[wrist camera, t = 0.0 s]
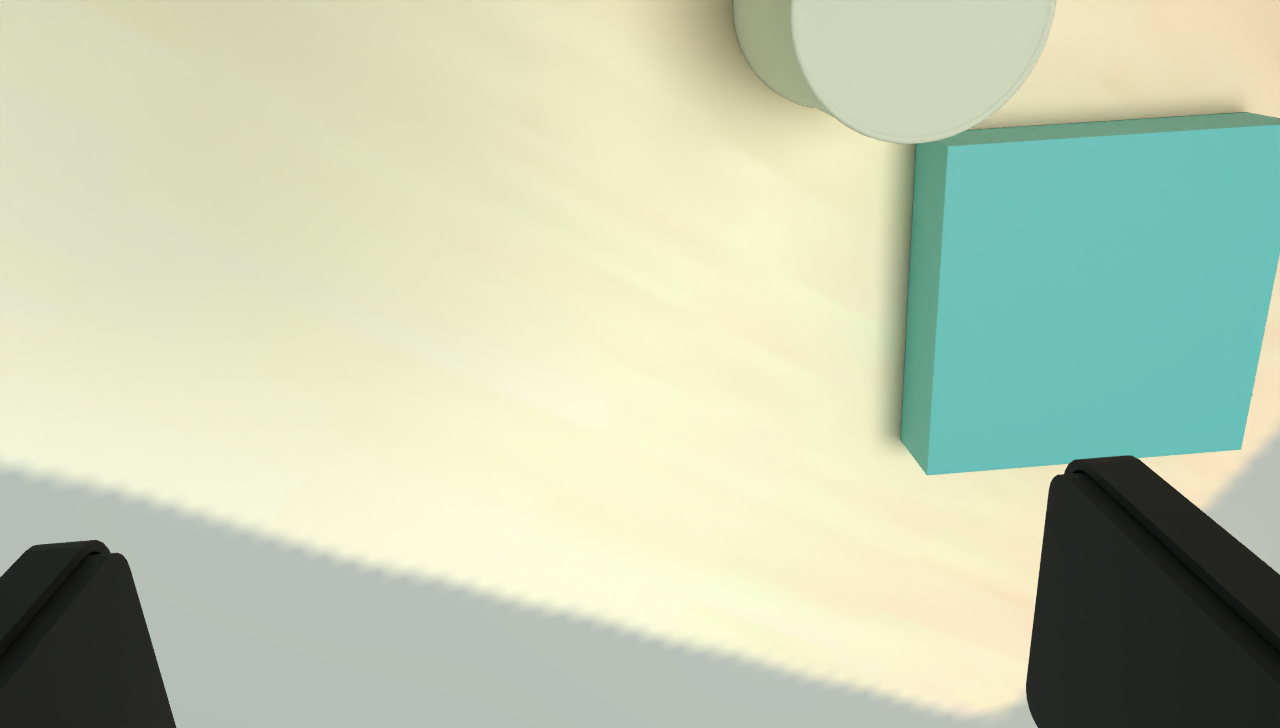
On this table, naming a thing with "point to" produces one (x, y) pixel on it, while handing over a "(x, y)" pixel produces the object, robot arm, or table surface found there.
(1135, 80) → the table surface
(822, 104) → the can
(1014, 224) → the teal base
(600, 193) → the table surface
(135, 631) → the robot arm
